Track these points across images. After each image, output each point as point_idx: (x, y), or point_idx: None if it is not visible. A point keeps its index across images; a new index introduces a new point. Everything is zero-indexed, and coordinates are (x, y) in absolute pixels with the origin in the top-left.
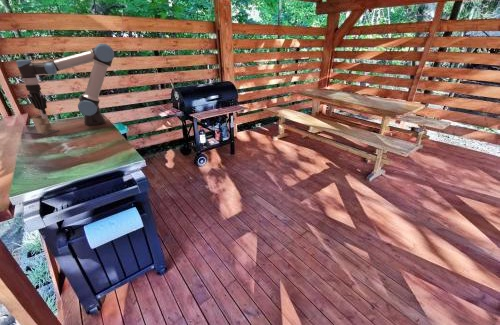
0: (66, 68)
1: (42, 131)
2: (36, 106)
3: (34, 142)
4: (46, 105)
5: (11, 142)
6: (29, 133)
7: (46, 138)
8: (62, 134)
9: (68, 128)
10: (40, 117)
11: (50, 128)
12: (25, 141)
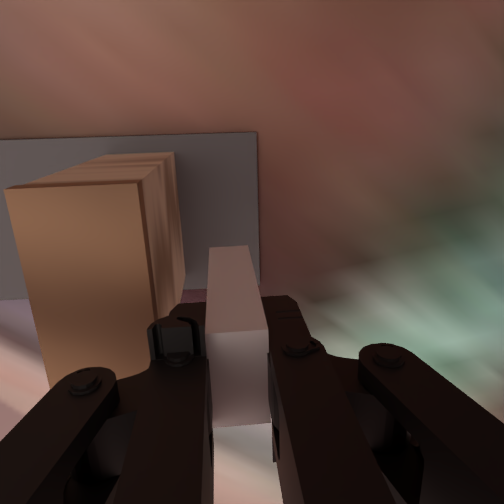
0: None
1: (182, 273)
2: (113, 491)
3: None
4: (469, 402)
5: None
6: (25, 296)
7: (343, 343)
8: (396, 221)
9: (267, 4)
10: (158, 311)
11: (172, 173)
12: (236, 434)
